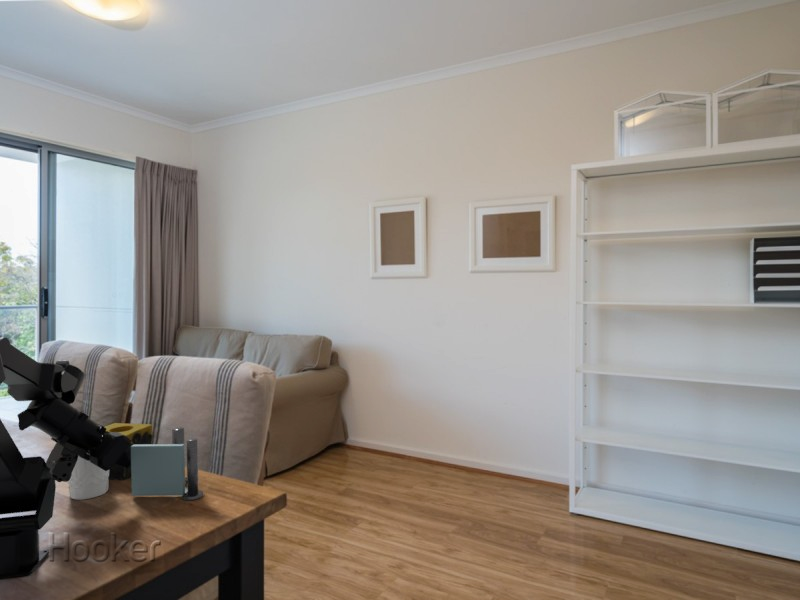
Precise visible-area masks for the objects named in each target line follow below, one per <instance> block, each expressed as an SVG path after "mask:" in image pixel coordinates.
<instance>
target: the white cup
mask: <svg viewBox="0 0 800 600" xmlns="http://www.w3.org/2000/svg"><path fill="white" fill-rule="evenodd" d="M71 474H72V476H71V478H70V480H69V481H68V482H67V484H68V489H69V497H70V499H73V500H81V501H82V500H88V499H94V498H96V497H100V496H102V495H104V494H106V493H107V492H108V490H109V479H108V477H109V470H107V471H104V470H103V469H101V468H99V467H97V466H96V465H94V464H92V463H91V462H90V461H87V460H85V459H83V458H81V457H80V456H78V459H77V462H76V464H75V467H74V469H73V471H72V473H71Z"/></svg>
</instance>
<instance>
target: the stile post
mask: <svg viewBox="0 0 800 600" xmlns="http://www.w3.org/2000/svg"><path fill="white" fill-rule="evenodd" d="M171 434H172V435H171V438H172V439H171V441H172V443H171V444H184V449H185V427H183V426H182V427H181V426H180V427H174V428H172V430H171ZM186 482H187V476H185V483H186Z"/></svg>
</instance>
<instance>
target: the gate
mask: <svg viewBox="0 0 800 600" xmlns="http://www.w3.org/2000/svg"><path fill="white" fill-rule="evenodd" d="M184 446H185V443H184V444H172V443H167V444H166V443H164V444H163V443H160V444H157V443H156V444H154V443H153V444H152V443H151V444H136V445H132V446H131V477H130V478H131V496H132V497H146V496H147V497H149V496H150V497H154V496H155V497H157V496H158V497H159V496H161V497H162V496H166V497H167V496H168V497H169V496H171V497H172V496H175V497H176V496H182V495H184V494H185V487H186V482H185V477H186V461H185V460H186V458H185V455H186V454H185V449H184Z"/></svg>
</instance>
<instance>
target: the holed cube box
mask: <svg viewBox="0 0 800 600" xmlns="http://www.w3.org/2000/svg"><path fill="white" fill-rule="evenodd" d="M104 427H105V428H106V431H108V432H110V433H112V432H118V433H120V434H123V435H125V436H126V437H128V438H129V439H130V440H132V441H131V444H130V445H129V446H128V448H127V449H126V450H125V451H126V453H127V455H128V457H129V460H130V462H131V446H132V445H136V444H152V442H153V441H152V439H153V425H152V424H149V423H148V424H147V423H146V424H145V423H123V422H121V423H119V422H115V423H110V424H109V425H105V426H104ZM129 478H131V465H130V466H129V467H128V468H125V467H122V466H119V465H116V464H113V466H112V467H111V468H110V469H109V477H108V479H110V480H114V479H115V480H116V479H118V480H117V481H125V480H127V479H129Z"/></svg>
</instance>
